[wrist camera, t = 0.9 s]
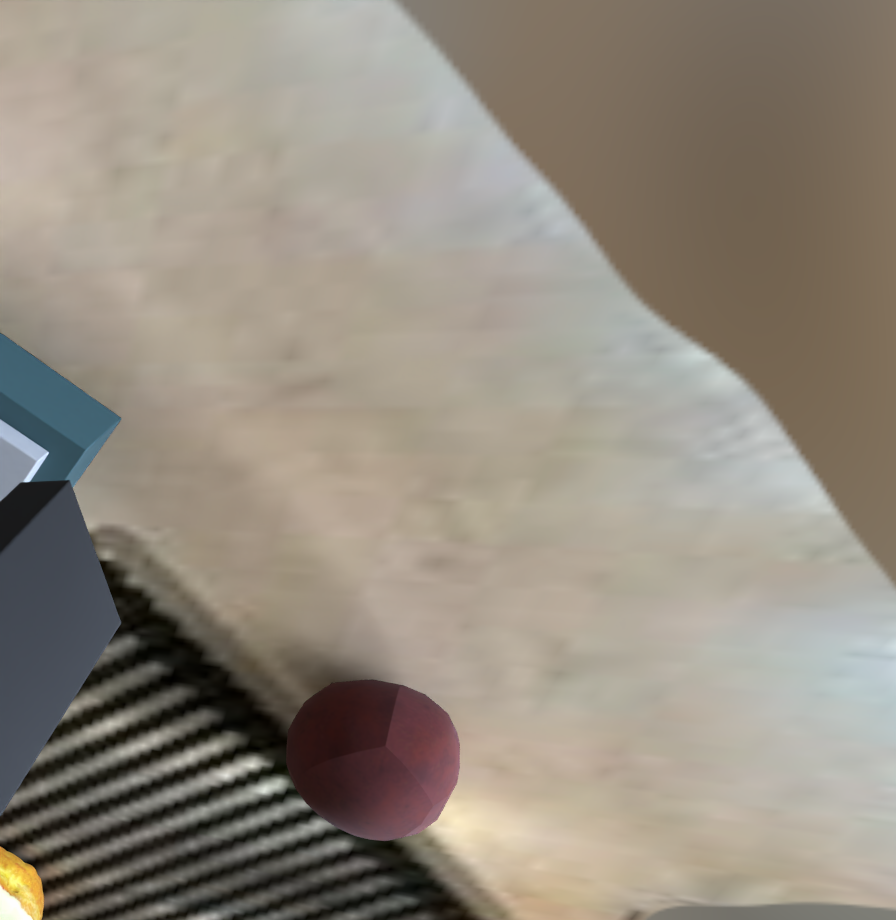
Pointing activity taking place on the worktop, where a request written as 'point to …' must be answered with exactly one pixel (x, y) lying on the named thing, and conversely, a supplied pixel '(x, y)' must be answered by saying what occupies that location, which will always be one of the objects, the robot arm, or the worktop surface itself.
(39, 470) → the scale
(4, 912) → the decorated donut
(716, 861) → the worktop surface
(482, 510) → the worktop surface
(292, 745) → the plum
